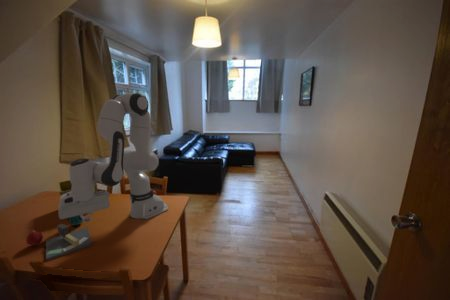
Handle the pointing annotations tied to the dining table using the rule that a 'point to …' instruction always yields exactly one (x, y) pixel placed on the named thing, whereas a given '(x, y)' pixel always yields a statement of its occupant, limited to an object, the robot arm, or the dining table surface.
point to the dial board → (67, 244)
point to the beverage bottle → (75, 220)
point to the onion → (34, 238)
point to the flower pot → (69, 187)
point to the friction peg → (67, 235)
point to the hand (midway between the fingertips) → (87, 221)
